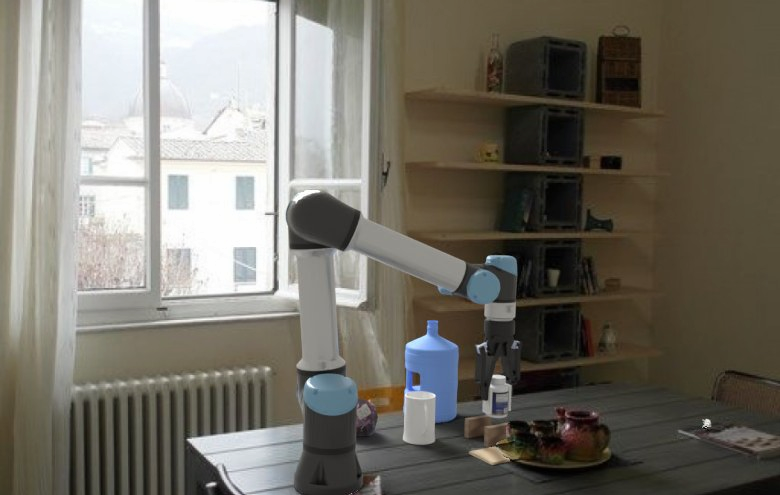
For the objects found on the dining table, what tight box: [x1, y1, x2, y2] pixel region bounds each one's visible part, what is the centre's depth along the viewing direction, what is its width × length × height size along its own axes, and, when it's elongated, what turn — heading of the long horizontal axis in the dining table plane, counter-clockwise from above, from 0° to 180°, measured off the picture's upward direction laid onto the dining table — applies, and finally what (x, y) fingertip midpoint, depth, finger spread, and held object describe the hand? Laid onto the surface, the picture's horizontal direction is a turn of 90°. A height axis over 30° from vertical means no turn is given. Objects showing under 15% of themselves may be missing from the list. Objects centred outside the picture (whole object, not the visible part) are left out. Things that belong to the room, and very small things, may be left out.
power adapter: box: [702, 418, 712, 428], centre depth 218 cm, size 3×3×3 cm
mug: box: [402, 391, 436, 446], centre depth 199 cm, size 12×8×12 cm
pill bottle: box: [485, 374, 509, 419], centre depth 189 cm, size 5×5×10 cm
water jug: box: [402, 319, 460, 424], centre depth 222 cm, size 16×16×28 cm
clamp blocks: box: [463, 414, 509, 448], centre depth 203 cm, size 9×10×5 cm
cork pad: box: [468, 446, 511, 466], centre depth 190 cm, size 9×9×1 cm
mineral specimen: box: [356, 398, 379, 437], centre depth 204 cm, size 10×10×10 cm
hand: (496, 411), depth 189 cm, fingers closed on pill bottle, 5 cm apart
